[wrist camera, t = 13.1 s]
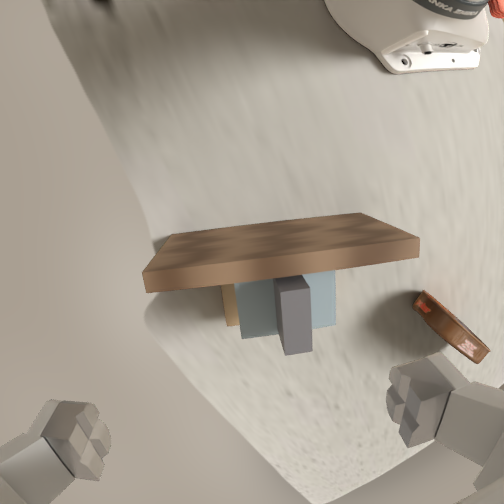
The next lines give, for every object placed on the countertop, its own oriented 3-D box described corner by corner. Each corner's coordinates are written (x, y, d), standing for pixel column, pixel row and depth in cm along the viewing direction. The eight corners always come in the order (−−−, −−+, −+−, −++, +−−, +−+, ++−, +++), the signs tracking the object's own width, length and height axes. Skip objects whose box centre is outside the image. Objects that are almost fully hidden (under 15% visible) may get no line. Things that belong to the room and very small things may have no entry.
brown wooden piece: (360, 212, 33) (419, 237, 22) (361, 294, 36) (410, 346, 24) (171, 234, 32) (141, 272, 21) (187, 317, 35) (171, 384, 23)
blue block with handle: (315, 240, 30) (352, 274, 21) (318, 297, 32) (351, 349, 22) (231, 250, 30) (233, 290, 21) (239, 308, 32) (244, 366, 22)
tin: (467, 327, 39) (500, 354, 31) (455, 344, 40) (486, 373, 31) (412, 280, 36) (451, 308, 28) (398, 301, 36) (433, 332, 28)
